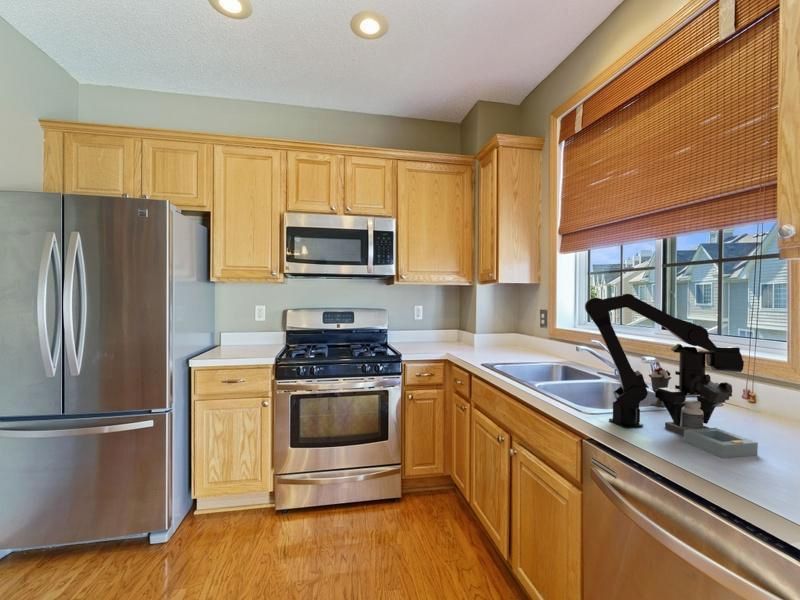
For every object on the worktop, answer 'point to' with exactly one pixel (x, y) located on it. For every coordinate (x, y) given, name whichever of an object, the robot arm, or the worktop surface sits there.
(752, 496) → the worktop surface
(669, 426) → the dark brown square tray
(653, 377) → the sundae
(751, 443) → the tray
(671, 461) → the worktop surface
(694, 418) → the pill bottle
